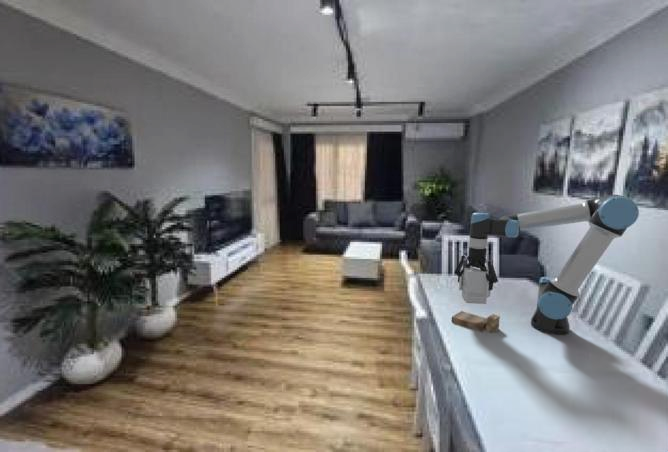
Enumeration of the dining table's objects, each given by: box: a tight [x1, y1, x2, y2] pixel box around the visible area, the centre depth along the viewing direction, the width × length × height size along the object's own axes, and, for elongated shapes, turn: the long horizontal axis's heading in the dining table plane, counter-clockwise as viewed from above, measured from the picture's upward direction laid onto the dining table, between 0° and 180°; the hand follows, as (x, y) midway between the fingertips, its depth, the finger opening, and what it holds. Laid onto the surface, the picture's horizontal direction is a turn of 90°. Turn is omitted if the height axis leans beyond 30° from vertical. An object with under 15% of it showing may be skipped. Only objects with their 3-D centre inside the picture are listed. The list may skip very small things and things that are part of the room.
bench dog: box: [485, 313, 501, 334], centre depth 163 cm, size 3×6×6 cm, turn 134°
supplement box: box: [461, 265, 490, 305], centre depth 167 cm, size 9×9×15 cm
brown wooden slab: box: [451, 310, 487, 332], centre depth 170 cm, size 14×10×3 cm
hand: (474, 293), depth 168 cm, fingers closed on supplement box, 12 cm apart
